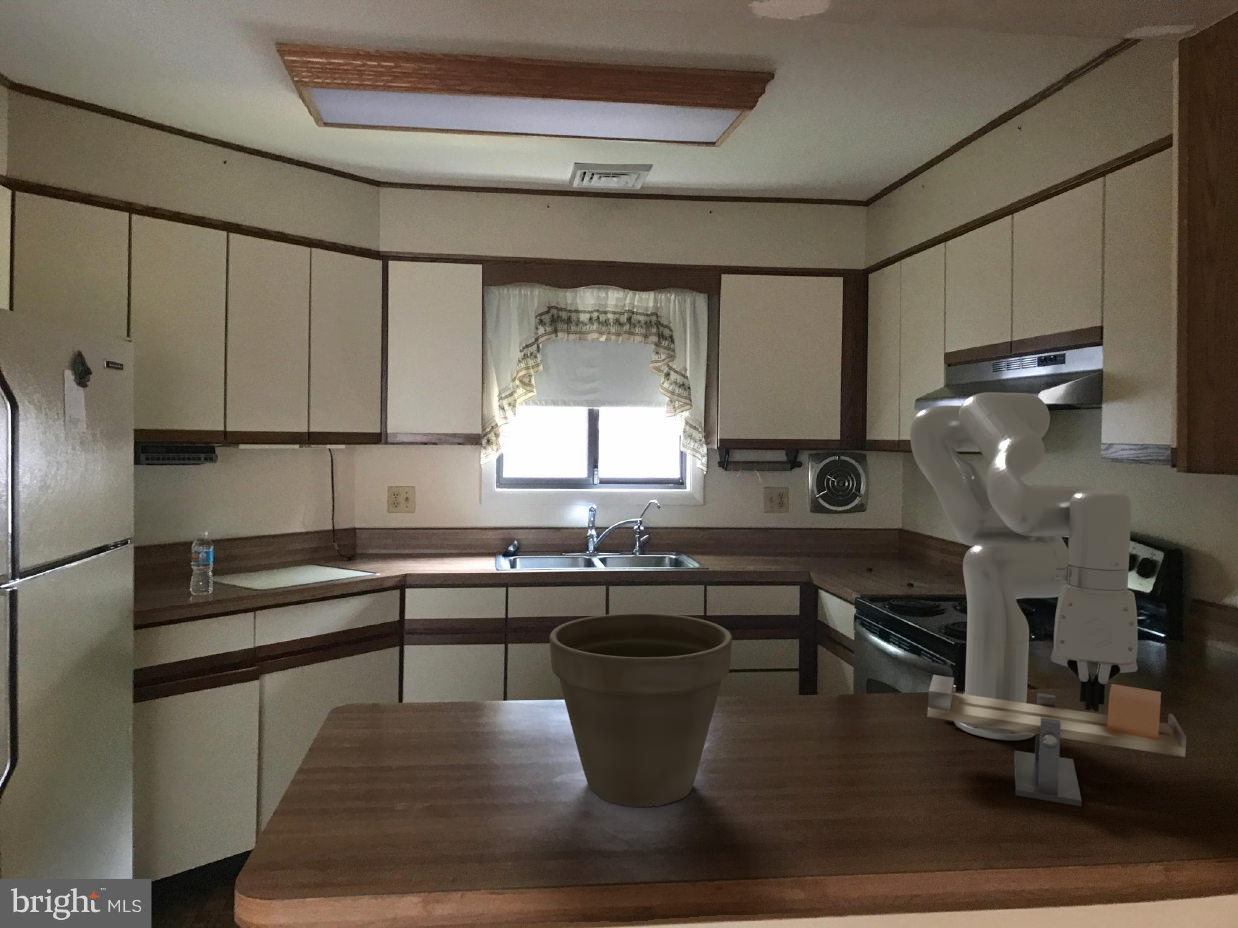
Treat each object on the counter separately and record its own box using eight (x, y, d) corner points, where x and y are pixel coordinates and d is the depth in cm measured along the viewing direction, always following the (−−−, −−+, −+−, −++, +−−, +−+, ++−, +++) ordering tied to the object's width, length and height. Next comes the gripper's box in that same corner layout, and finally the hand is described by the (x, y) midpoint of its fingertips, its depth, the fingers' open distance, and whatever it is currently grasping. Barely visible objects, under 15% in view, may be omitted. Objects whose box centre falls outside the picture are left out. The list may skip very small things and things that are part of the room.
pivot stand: (1015, 795, 120) (1018, 719, 119) (1014, 755, 135) (1017, 688, 134) (1081, 806, 117) (1084, 729, 116) (1072, 764, 131) (1075, 695, 131)
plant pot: (568, 836, 106) (571, 660, 105) (533, 760, 130) (535, 615, 129) (758, 815, 112) (762, 649, 111) (691, 746, 136) (694, 608, 135)
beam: (927, 716, 127) (928, 691, 127) (932, 697, 136) (933, 673, 136) (1185, 756, 114) (1186, 729, 114) (1171, 732, 123) (1173, 706, 123)
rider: (1106, 737, 120) (1109, 694, 120) (1109, 724, 125) (1111, 683, 125) (1157, 747, 117) (1160, 703, 117) (1158, 733, 122) (1160, 691, 122)
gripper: (1038, 578, 122) (1033, 707, 123) (1163, 588, 116) (1156, 724, 116) (1037, 570, 129) (1032, 693, 130) (1155, 579, 122) (1149, 708, 123)
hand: (1091, 707), depth 123 cm, fingers closed
